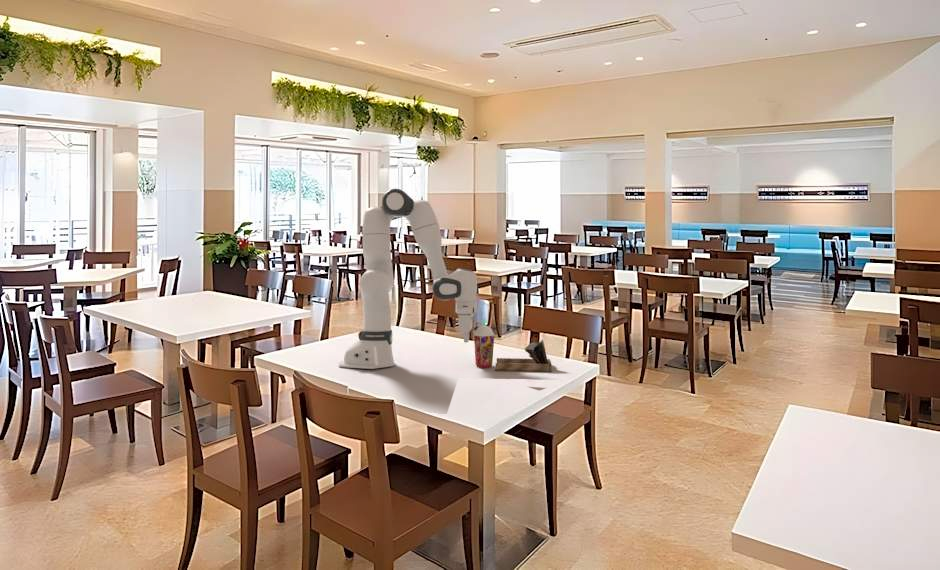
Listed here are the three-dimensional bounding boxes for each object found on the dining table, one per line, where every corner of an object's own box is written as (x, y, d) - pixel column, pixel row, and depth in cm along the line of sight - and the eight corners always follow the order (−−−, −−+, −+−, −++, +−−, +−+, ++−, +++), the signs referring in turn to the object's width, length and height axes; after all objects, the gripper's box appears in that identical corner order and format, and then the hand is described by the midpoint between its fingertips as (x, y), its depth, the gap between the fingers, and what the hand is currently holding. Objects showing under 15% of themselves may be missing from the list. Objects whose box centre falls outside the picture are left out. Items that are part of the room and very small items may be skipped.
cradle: (495, 370, 245) (495, 363, 244) (496, 365, 259) (496, 358, 258) (551, 372, 243) (551, 364, 243) (549, 366, 257) (549, 359, 257)
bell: (535, 366, 257) (536, 337, 257) (548, 368, 252) (548, 339, 252) (519, 368, 251) (520, 339, 251) (532, 370, 246) (533, 340, 245)
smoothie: (492, 369, 247) (492, 319, 246) (471, 369, 249) (472, 319, 248) (495, 366, 255) (496, 318, 255) (475, 365, 257) (476, 317, 256)
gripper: (460, 306, 262) (461, 339, 263) (456, 310, 242) (456, 345, 242) (475, 306, 262) (475, 339, 262) (472, 310, 242) (472, 345, 242)
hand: (466, 342), depth 252 cm, fingers closed
